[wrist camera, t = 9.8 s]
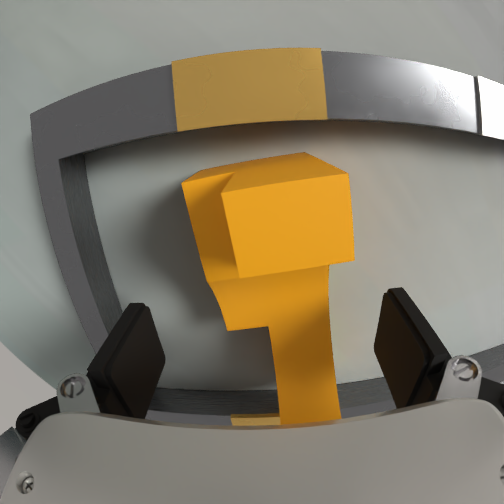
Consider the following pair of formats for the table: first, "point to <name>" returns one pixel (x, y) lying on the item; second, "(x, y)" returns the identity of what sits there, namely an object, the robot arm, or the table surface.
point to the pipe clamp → (278, 264)
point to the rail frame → (225, 114)
